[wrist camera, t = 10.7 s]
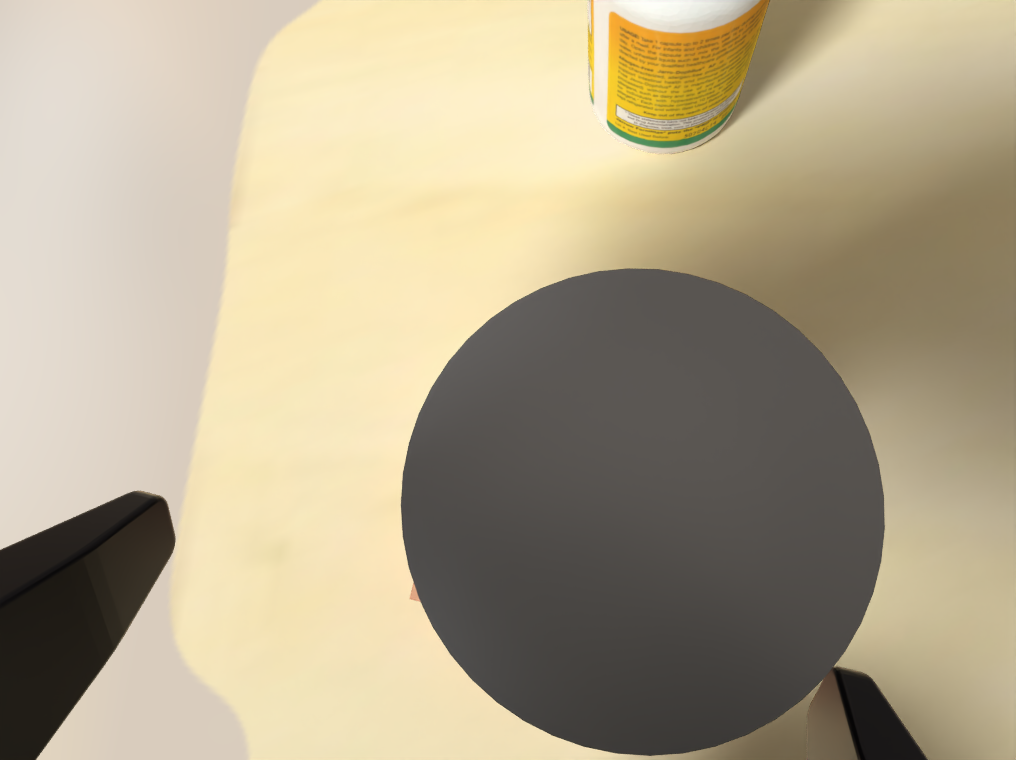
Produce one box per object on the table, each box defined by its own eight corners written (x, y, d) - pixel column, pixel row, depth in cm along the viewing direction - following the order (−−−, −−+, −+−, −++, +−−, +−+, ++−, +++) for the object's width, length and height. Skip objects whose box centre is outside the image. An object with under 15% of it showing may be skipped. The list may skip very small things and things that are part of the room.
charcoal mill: (629, 604, 20) (794, 839, 7) (463, 537, 20) (326, 638, 7) (690, 436, 20) (946, 364, 7) (527, 375, 21) (503, 206, 8)
